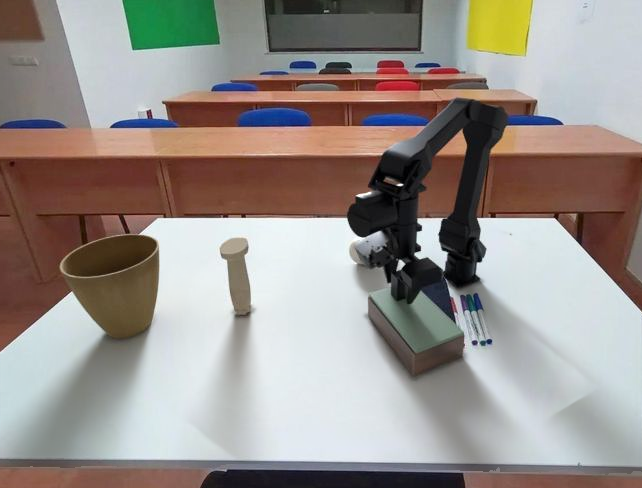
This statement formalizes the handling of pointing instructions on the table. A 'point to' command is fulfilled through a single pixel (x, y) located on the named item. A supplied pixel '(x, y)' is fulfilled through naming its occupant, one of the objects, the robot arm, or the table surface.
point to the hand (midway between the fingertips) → (399, 292)
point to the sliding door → (415, 316)
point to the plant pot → (116, 281)
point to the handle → (237, 273)
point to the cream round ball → (353, 251)
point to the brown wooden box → (405, 352)
